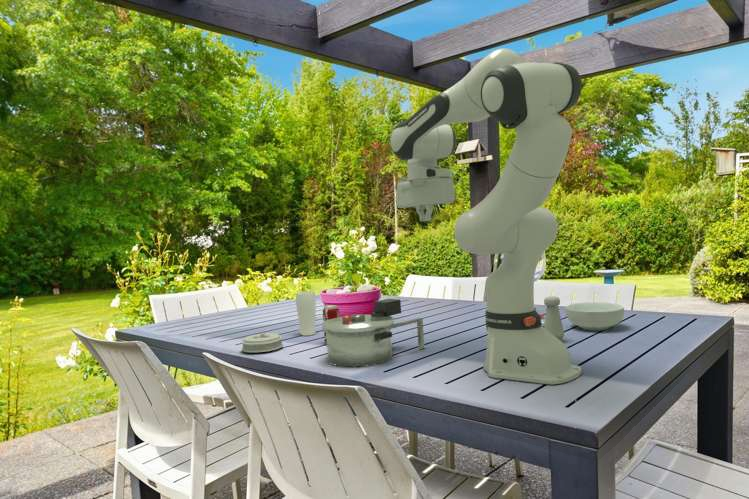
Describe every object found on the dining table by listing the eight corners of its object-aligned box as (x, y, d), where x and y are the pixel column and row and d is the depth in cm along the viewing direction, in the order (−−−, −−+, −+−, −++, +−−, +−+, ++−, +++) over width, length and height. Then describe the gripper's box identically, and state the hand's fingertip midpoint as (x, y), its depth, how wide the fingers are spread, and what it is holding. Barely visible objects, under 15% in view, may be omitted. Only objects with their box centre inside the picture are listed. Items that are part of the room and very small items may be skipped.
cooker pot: (432, 349, 148) (430, 318, 148) (363, 372, 129) (361, 336, 129) (378, 340, 164) (376, 312, 164) (310, 359, 146) (308, 328, 145)
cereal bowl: (556, 330, 164) (555, 308, 163) (581, 321, 175) (580, 300, 174) (610, 336, 151) (609, 312, 151) (633, 326, 162) (632, 304, 162)
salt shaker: (545, 338, 152) (543, 295, 152) (566, 339, 150) (564, 295, 149) (541, 343, 147) (539, 298, 147) (562, 344, 145) (560, 298, 144)
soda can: (338, 345, 162) (336, 307, 162) (322, 345, 163) (320, 307, 163) (343, 341, 167) (340, 304, 167) (327, 341, 168) (325, 305, 168)
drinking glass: (320, 332, 184) (317, 290, 184) (314, 336, 178) (311, 293, 177) (302, 332, 186) (299, 291, 185) (295, 336, 179) (292, 294, 178)
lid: (281, 353, 156) (279, 337, 156) (239, 357, 155) (237, 340, 155) (284, 344, 169) (283, 329, 169) (245, 347, 168) (244, 332, 168)
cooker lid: (420, 319, 146) (419, 301, 146) (354, 335, 129) (353, 315, 129) (372, 313, 161) (371, 297, 161) (307, 328, 144) (306, 309, 144)
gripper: (390, 178, 156) (392, 223, 157) (442, 169, 141) (445, 219, 142) (404, 178, 161) (406, 222, 161) (456, 170, 146) (459, 218, 146)
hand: (425, 221), depth 151 cm, fingers closed
